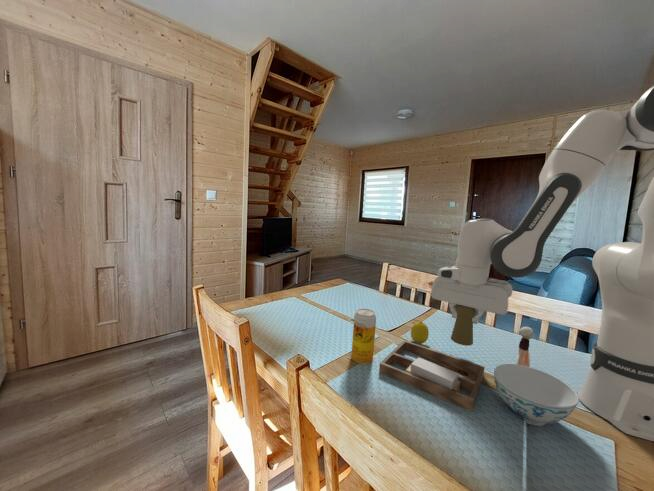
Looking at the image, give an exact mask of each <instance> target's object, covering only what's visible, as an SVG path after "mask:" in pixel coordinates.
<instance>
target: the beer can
mask: <svg viewBox="0 0 654 491" xmlns="http://www.w3.org/2000/svg"><path fill="white" fill-rule="evenodd" d="M353 314H354V315H353V330H352V341H351V342H352V344H351V357H350V358H351V359H352V361H354V362H356V363H358V364H370V363H372V362H373V360H374V350H375V340H376V339H375V337H376V336H375V335H376V324H377V316H376V312H375V311H374V310H372V309H368V308H358V309H356V311H355V313H353Z"/></svg>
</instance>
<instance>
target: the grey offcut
mask: <svg viewBox="0 0 654 491" xmlns="http://www.w3.org/2000/svg"><path fill="white" fill-rule="evenodd" d="M414 360H415V361H414V362H413V363H412V364H411V371H410V372H412V373H414V374H416V375H419V376H421V377H423V378H425V379H427V380H430V381H432V382H434V383H436V384H438V385H441V386H443V387H446V388H448V389H451V390H452V389H453V388H454V387H455V385H456V384H457V383H458V376H459V373H458V372H455V371H453V370H450V369H448V368H447V367H443V366H440V365H438V364H436V363H434V362H431V361H429V360H426V359H424V358H421V357H417V358H416V359H414ZM459 377H460V376H459Z"/></svg>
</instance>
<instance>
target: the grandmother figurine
mask: <svg viewBox="0 0 654 491" xmlns="http://www.w3.org/2000/svg"><path fill="white" fill-rule="evenodd" d="M518 332H519V333H520V334H521V339H520V341H519V344H518V358H517V363H516V364H517V365H523V366H527V367H531V366H530V365H531V360H530V340H531V339H532V338H533V332H534V329H533V328H531V327H529V326H522V327H521V328H520V329H519V330H518Z"/></svg>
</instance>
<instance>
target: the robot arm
mask: <svg viewBox="0 0 654 491" xmlns="http://www.w3.org/2000/svg"><path fill="white" fill-rule="evenodd" d="M619 151H637V152H649V151H650V152H651V151H654V85H652V86H651V87H650V88H649V89H647V90H646V91H645V92H643V94H642V95H641V96H640V98H639V99H638V100H637V101H636V103H634V104H633V106H632V107H631V108H629V109H626V110H622V111H621V110H619V111H618V110H617V111H616V110H615V111H614V110H611V109H610V110H609V109H596V110H591V111H589V112H586V113H585V114H583V115H582V116H581V117H580V118H579V119H577V121H576V122H575V123H574V124H573V125H572V126H571V127H570V128H569V129H568V131H567V132H566V133H565V134H564V135H563V136H562V138H561V139H560V140H559V141H558V143H557V144H556V145H555V146H554V148H553V150H551V153H550V154H549V155H548V158H546V161H545V162H544V165H542V166H543V167H542V168H541V171H540V173H539V176H538V182H539V190H538V192H537V193H538V194H537V196H536V198H535V199H534V202H533V204H532V205H531V206H530V208H529V209H528V211H527V213H526V214H525V216H523V217H522V220H521V221H520V222H519V223H518V226H517V227H516V228H515V229H514V230H513V231H512V230H510V229H509V228H508V229H507V228H505V227H504V226H502V225H501V224H499V223H497V222H496V221H495V220H494V219H493V218H476V219H469V220H467V221H466V222H464V223H463V224H462V226H461V229H460V231H459V235H458V241H457V242H458V243H457V257H456V260H455V263H454V264H455V265H450V266H449V265H448V266H444V267H441V268H439V269H438V270H437V274H436V275H437V277H436V278H434V280H433V282H432V286H431V290H430V296H431V298H432V299H434V300H437V301H441V302H446V303H449V304H448V305H449V306H448V307H449V309H450V311H451V318H453V319H455V320H456V319H457V313H456V308H455V306H456V305H457V306H458V305H462V306H466V307H471V308H475V310H477V315H475V316H474V317H473V318H472V323H473V324H474V325H478V324H479V319H480V318H481V317H483V316H482V315H484V313H485V312H487V313H492V314H497V315H501V316H504V315H506V314H507V313H508V310H509V302H510V301H509V298H510V297H512V294H513V289H514V288H513V286H512V284H511V283H510V282H508V281H507V280H502V279H501V280H500V279H497V278H493V277H489V274H490V269H491V265H492V266H493V268H494V269H495V270H496V272H498V273H499V274H501V275H503V276H505V277H509V278H516V279H517V278H523V277H526V276H527V277H528V276H529V275H531V274H533V273H534V272H536V270H538V268H539V266H540V265H541V262H542V259H543V253H544V252H543V251H544V247H545V244H546V242H547V240H548V238H549V237H550V235H551V234H552V232H553V231H554V229H555V228H556V227H557V225H558V223H559V222H560V221H561V220H562V218H563V217H564V216H565V214H566V212H567V211H568V209H570V207H571V205H572V204H573V203H574V202H575V201H576V200H577V199H578V198H579V197H580V196H581V195H582V194H584V192H585V191H586V190H587V189H588V188H590V186H591V185H592V183H594V182H595V180H596V179H597V178H598V177H599V176H600V175H601V173H602V172H603V170H604V169H605V168H606V167H607V166H608V164H609V163H610V162H611V160H612V158H614V156H615V155H616V154H617V153H618V152H619ZM637 215H638V218H639V219H640V220H641V224H642V234H641V235H642V237H641V241H640V242H635V241H624V242H615V243H609V244H606V245H604V246H602V247H600V248H599V249H597V250H596V252H595V253H594V255H593V258H592V260H591V262H592V263H591V264H592V268H593V271H594V272H595V273H596V275H597V278H598V283H599V289H600V297H601V298H600V299H601V312H602V313H601V320H600V326H599V332H598V337H597V342H595V343H594V345H593V348H592V350H591V353H590V354H591V355H590V361H589V362H590V368H589V372H588V374H587V377H586V379H585V381H584V382H583V384H582V386H581V388H580V389H579V390H578V392H577V393H576V394H577V396H578V399H579V401H580V402H581V403H582V405H584V406H585V407H586V408H588V409H589V410H590V411H592V412H593V413H595V414H596V415H598V416H600V417H602V418H603V419H605V420H607V421H608V422H610V423H611V424H612V425H613V426H615V427H616V428H617V429H618V430H620V431H621V432H623V433H625V434H627V435H629V436H633V437H636V438H639V439H644V440H647V441H650V442H654V176H653V177H652V179H651V181H650V183H649V185H648V187H647V190H646V192H645V194H644V196H643V199H642V201H641V202H640V205H639V207H638V209H637Z"/></svg>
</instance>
